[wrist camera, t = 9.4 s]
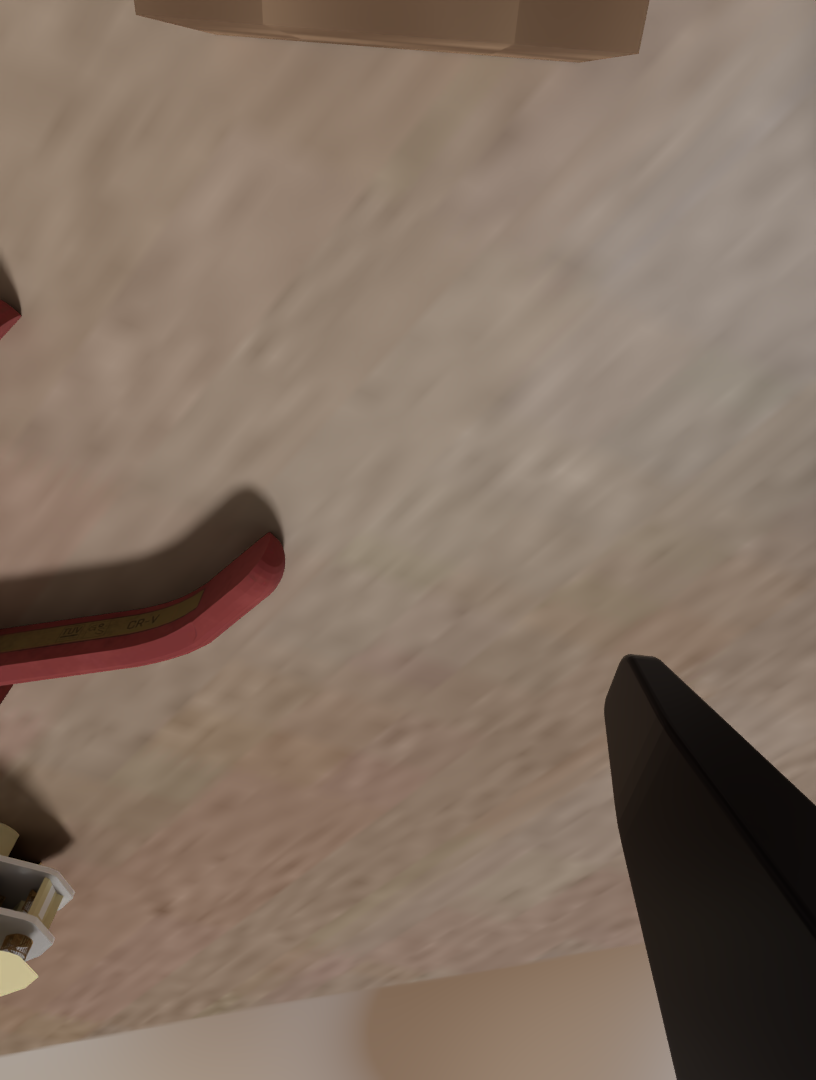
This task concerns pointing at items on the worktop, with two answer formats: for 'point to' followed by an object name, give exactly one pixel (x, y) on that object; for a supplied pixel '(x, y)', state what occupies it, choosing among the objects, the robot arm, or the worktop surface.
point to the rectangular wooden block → (426, 24)
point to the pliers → (138, 617)
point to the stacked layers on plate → (25, 912)
